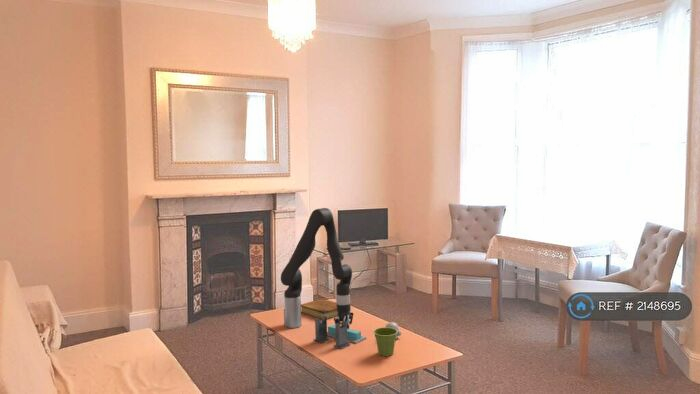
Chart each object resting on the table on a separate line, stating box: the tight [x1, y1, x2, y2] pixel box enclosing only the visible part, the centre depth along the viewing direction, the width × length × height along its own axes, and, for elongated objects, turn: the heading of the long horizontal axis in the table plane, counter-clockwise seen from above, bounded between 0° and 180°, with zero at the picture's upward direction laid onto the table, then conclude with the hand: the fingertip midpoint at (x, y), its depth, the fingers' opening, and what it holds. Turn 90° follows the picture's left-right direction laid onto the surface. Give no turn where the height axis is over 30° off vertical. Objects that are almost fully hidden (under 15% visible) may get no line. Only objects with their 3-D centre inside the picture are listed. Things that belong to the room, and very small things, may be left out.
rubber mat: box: [327, 331, 367, 345], centre depth 292 cm, size 23×9×1 cm, turn 50°
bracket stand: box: [313, 316, 351, 350], centre depth 282 cm, size 19×7×12 cm, turn 50°
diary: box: [301, 298, 338, 321], centre depth 336 cm, size 23×19×6 cm
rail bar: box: [327, 324, 362, 340], centre depth 292 cm, size 20×4×4 cm, turn 51°
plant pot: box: [372, 326, 398, 357], centre depth 266 cm, size 12×12×11 cm
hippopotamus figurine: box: [385, 321, 402, 341], centre depth 286 cm, size 7×12×8 cm, turn 129°
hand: (344, 333), depth 292 cm, fingers open, 4 cm apart
